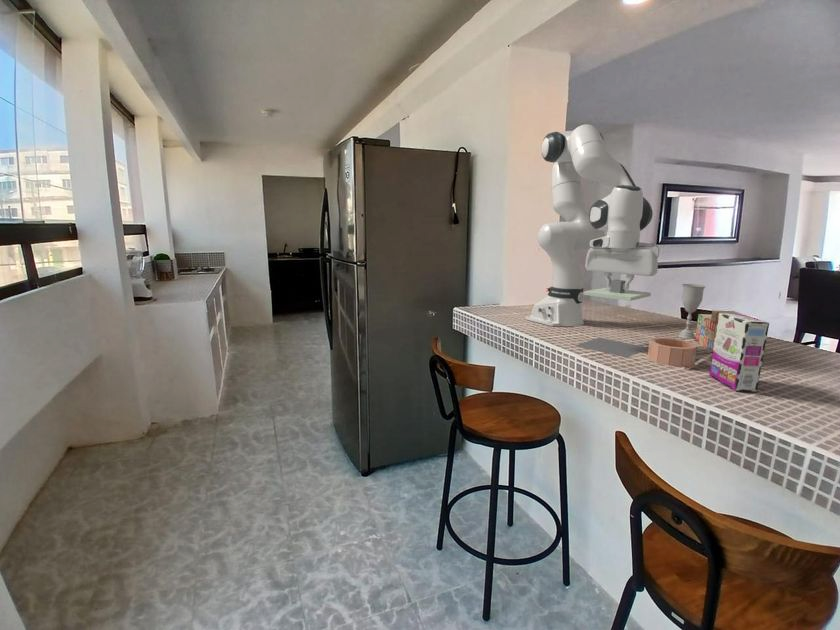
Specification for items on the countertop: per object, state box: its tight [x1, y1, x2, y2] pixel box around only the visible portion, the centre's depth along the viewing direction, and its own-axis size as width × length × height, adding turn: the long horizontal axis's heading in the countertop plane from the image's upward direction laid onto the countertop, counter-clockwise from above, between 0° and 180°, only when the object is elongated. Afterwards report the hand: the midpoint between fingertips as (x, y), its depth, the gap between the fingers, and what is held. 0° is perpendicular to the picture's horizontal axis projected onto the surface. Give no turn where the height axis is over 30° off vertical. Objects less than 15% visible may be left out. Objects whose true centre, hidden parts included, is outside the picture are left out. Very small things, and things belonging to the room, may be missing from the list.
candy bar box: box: [709, 313, 770, 393], centre depth 100 cm, size 11×5×16 cm, turn 174°
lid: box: [583, 279, 652, 302], centre depth 128 cm, size 14×14×4 cm
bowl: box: [647, 337, 698, 369], centre depth 118 cm, size 11×11×6 cm
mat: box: [574, 337, 649, 358], centre depth 131 cm, size 16×16×1 cm
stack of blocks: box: [695, 309, 751, 350], centre depth 130 cm, size 21×6×12 cm, turn 168°
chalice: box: [678, 283, 707, 340], centre depth 145 cm, size 7×7×18 cm
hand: (617, 288), depth 128 cm, fingers closed on lid, 3 cm apart
